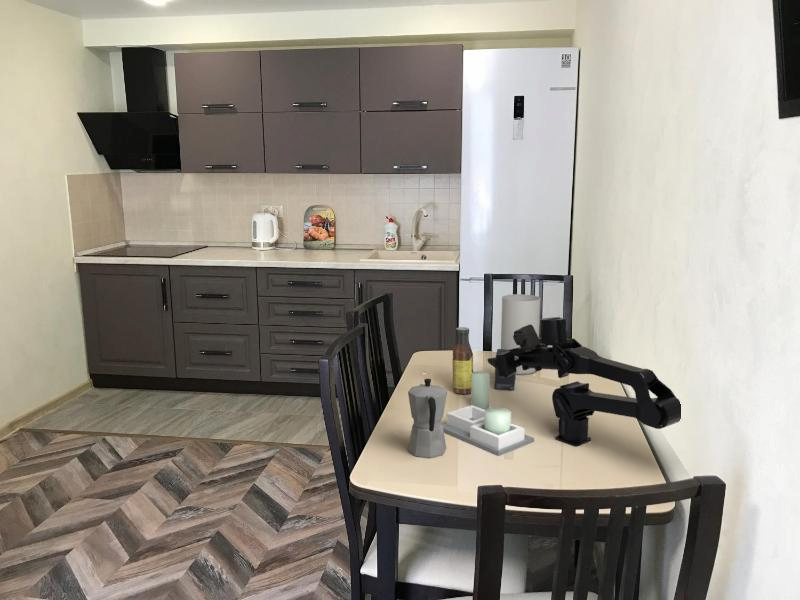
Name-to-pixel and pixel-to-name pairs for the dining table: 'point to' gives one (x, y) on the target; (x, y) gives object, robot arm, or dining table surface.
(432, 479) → the dining table surface
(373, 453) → the dining table surface
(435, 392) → the coffeepot
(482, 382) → the pale green rounded block
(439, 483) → the dining table surface
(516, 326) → the cylinder vase
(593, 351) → the robot arm
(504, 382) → the small box
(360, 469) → the dining table surface
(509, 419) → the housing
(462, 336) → the sauce bottle
